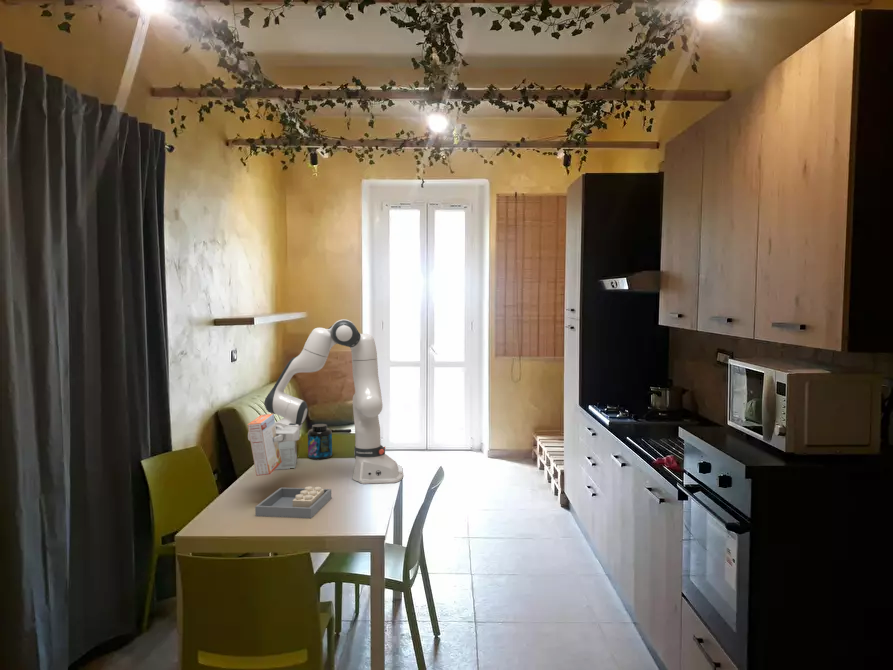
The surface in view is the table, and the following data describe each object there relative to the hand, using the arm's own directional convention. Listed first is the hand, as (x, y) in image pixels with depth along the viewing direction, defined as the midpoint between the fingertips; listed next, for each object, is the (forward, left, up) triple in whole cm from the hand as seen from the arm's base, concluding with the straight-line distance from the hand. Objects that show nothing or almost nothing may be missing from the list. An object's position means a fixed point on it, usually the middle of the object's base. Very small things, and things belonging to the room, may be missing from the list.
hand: (265, 439), depth 235 cm
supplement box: (+14, -48, -24) cm, 56 cm away
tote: (-16, +10, -24) cm, 30 cm away
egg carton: (-21, +10, -23) cm, 33 cm away
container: (+1, -64, -24) cm, 68 cm away
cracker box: (-1, 0, -12) cm, 12 cm away
